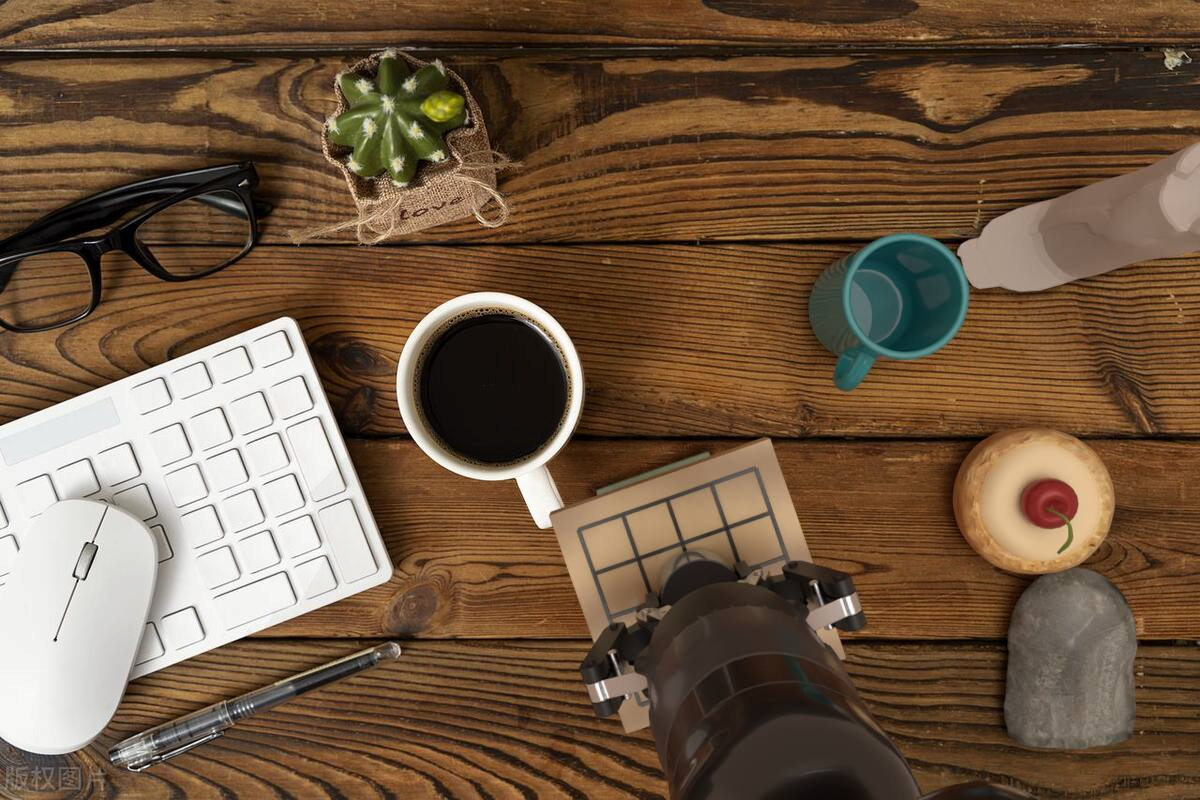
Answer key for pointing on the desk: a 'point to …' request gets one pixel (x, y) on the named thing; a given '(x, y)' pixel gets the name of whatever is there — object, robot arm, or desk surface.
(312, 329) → the desk surface
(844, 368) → the cup
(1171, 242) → the beige tapered piece
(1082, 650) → the stone
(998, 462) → the pastry
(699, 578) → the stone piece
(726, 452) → the board
